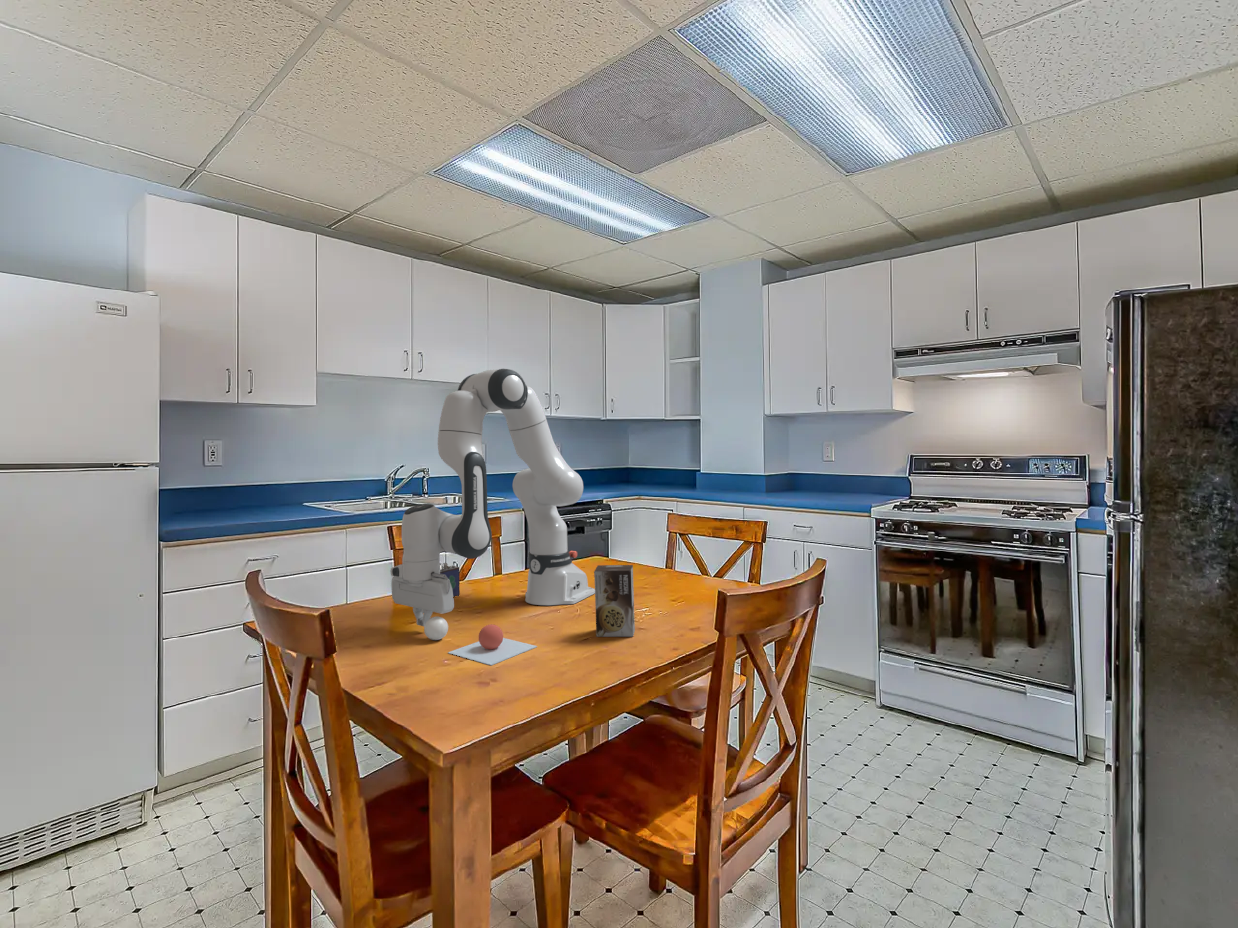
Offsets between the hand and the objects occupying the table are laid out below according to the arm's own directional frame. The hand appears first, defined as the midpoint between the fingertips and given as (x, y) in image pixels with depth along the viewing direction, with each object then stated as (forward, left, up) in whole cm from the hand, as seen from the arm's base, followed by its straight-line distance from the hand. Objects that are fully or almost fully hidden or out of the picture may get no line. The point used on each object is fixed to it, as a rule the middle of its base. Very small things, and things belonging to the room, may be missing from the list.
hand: (423, 625), depth 157 cm
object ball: (0, +24, +1) cm, 24 cm away
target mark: (0, +25, -2) cm, 25 cm away
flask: (-25, -22, -2) cm, 33 cm away
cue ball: (+2, +8, +1) cm, 8 cm away
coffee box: (-25, +41, -2) cm, 48 cm away
